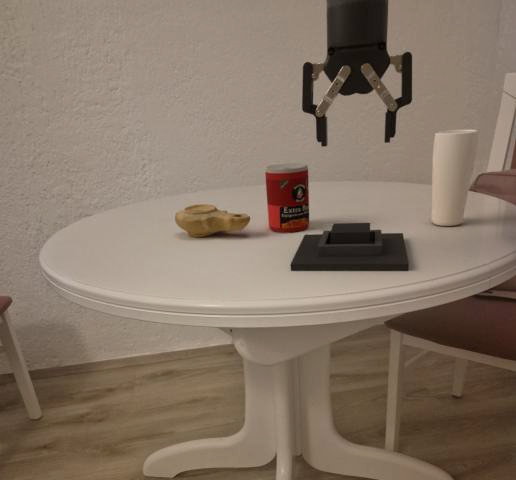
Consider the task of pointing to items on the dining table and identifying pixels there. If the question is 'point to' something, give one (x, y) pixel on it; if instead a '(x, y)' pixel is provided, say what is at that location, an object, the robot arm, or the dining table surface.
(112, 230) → the dining table surface
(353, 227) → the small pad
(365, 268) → the base pad
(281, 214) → the canned food
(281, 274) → the dining table surface
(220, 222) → the oil lamp
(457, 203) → the drinking glass
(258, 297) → the dining table surface
